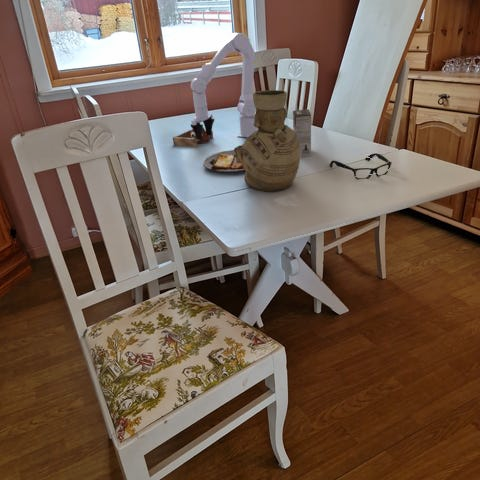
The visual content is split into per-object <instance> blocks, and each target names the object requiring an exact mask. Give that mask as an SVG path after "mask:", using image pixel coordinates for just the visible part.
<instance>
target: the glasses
mask: <svg viewBox="0 0 480 480" xmlns="http://www.w3.org/2000/svg"><path fill="white" fill-rule="evenodd" d="M375 156H376V157H377V158H378V159H379V160H381V161H383V162H385V163H384V164H381V165H378V166H377V167H372V168H370V167H359V168H353V167H350V166H349V165H346V164H345V163H344V162H343V163H342V162H340V161H338V160H331V161H330V163H329V167H330V168H333V165H334V164H335V166H336V167H340V168H343V169H346V170H350V171H351V172H353V176H354V178H355V179H356V180H367V179H370V178H371V177H372V176H373V174H375V173H377V174H375V176H377V177H382V176H384V175H387V174H388V173H389V171H387V170H386V172H384V173H383V174H378V170H379V169H380V168H383V167H385V166H388V167H387V169H389V168H390V169H391V166H392V163H393V162H391V161H389V160H388V158H386V157H385V156H384V155H382V154H380V153H375V152H374V153H371V154H369V155H368V156H366V157H365V159H364V160H365V161H368V162H370V160H371V161H372V159H373V158H374V157H375ZM367 157H370V158H372V159H370V158H367ZM390 169H389V170H390ZM363 170H365V171H366V170H370V172H369V174H372V175H369V174H368V176H367V177H360V178H359V177H357V172H358V171H363ZM355 176H356V177H355Z"/></svg>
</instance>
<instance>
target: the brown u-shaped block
mask: <svg viewBox="0 0 480 480" xmlns="http://www.w3.org/2000/svg"><path fill="white" fill-rule="evenodd" d="M191 131H192V129H188V130H187V131H184V132H182V133H179V134H177V135H176V136H174V137H173V136H172V141H173V142H172V143H173V146H181V147H182V146H183V147H196V148H197V147H198V142H197V139H195V138H189V137H190V132H191ZM205 131H206V129H205ZM213 133H214V132H213V130H212V133H211V135H209V137H210V139H214V134H213Z"/></svg>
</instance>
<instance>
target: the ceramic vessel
mask: <svg viewBox="0 0 480 480" xmlns="http://www.w3.org/2000/svg"><path fill="white" fill-rule="evenodd" d="M287 97H288V93H287V91H285V90H275V89H272V90H271V89H269V90H267V89H266V90H260V91H255V92H254V91H253V101H254V105H255V108H256V112H255V116H254V124H253V125H254V126H255V127H258V131H254V132H253V134H251V135H250V136H249V137H246V139H244V142H243V143H242V144H241V145H237V146H236V147H234V148H233V150H234V152H235V153H236V162H237V163H241V161H242V164H243V168H244V169H245V170H244V171H245V174H244V178H243V180H244V183H245V184H246V186H248V187H249V188H252V189H255V190H258V191H260V192H261V191H262V192H266V193H267V192H268V193H273V192H279V191H283V190H285V189H288V188H289V187H291V185H292V184H293V183H294V181H295V178H296V177H297V174H298V170H299V168H300V167H299V166H300V162H301V156H300V146H299V141H298V137H297V135H296V133H295V132H294V130H293V128H291V127H290V126H288V125H287V124H285V121H286V119H287V114H288V113H287V110H286V108H285V107H286V102H287Z"/></svg>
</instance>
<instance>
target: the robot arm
mask: <svg viewBox="0 0 480 480" xmlns="http://www.w3.org/2000/svg"><path fill="white" fill-rule="evenodd" d="M235 51H237V52H238V54H240V55H241V57H242V70H241V72H242V73H241V92H240V93H241V95H240V96H239V102H238V104H237V111H238V112H239V128H240V130H239V131H240V134H238V135H237V138H238V137H239V138H248V137H249V136H250V135H251V134H253V132H254V131H258V127H255V126H254V125H253V124H254V116H255V114H256V108H255V105H254V101H253V93H254V75H255V74H254V73H255V72H254V71H255V56H256V55H255V50H254V48H253V46H252V43H251V39H250V38H249V37H248V36H247V35H246V34H245V33H243V32H232V33H230V35H229V36H228V37H227V38H226V39H225V40H224V42H223V43H222V45H221V46H220V48H219V49H218V50H217V52H216V53H215V55H214V56H213V58H212V59H211V61H210V62H208V63H207V62H206V63H205V64H203V65H202V66H201V69H200V71H199V72H198V74H196V75H195V76H194V77H195V78H193V79H192V80H191V82H190V89H191V90H192V99H193V107H194V113H195V114H194V115H195V116H194V117H193V118H192V120H191V124H190V128H191V130H192V129H193V130H194V132H195V134H196V136H197V139H198V140H202V128H204V129H205V130H206V132H207V135H211V133H212V131H213V125H214V124H215V118H213V113H209V112H208V102H207V96H206V91H207V85H208V84H209V83H210V82H211V81H212V79H213V78H214V77H215V75H216V74H217V68H218V66H219V65H220V64H221V62H222V61H223V60H224V59H225V58H226V56H227V55H228V54H230V53H233V52H235ZM202 122H203V124H202ZM199 123H200V124H199Z"/></svg>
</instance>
